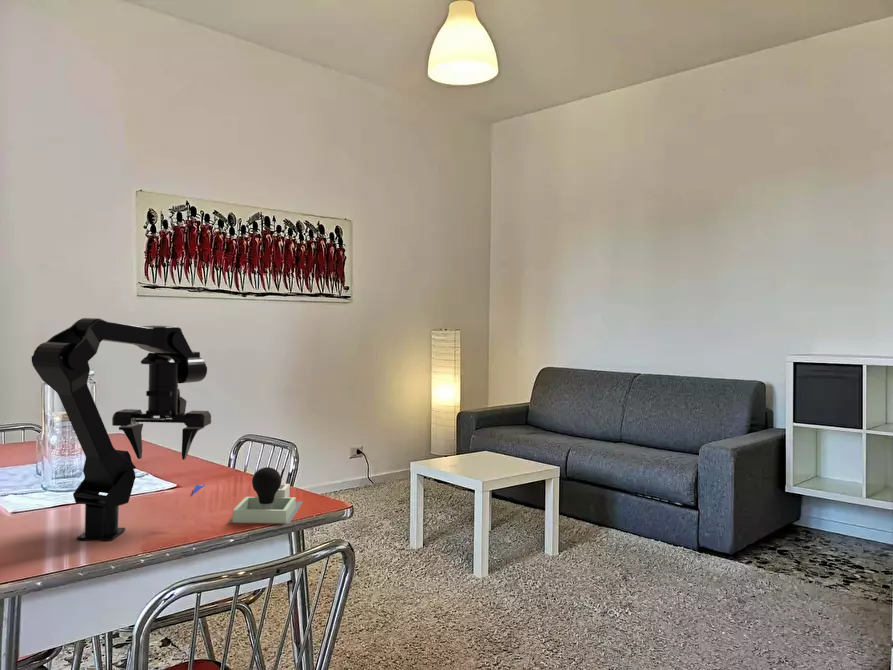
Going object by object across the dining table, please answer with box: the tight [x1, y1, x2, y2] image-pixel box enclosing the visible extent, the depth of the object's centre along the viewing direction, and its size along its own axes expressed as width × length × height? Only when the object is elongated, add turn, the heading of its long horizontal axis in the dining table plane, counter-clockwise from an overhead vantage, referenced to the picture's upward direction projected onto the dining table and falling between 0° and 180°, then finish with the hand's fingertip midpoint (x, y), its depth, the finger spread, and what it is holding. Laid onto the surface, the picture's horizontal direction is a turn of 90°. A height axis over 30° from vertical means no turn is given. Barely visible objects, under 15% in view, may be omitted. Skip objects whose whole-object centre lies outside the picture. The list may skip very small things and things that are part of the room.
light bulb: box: [251, 466, 282, 509], centre depth 144 cm, size 6×6×10 cm
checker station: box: [228, 483, 304, 525], centre depth 147 cm, size 17×12×5 cm
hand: (161, 459), depth 146 cm, fingers open, 9 cm apart
